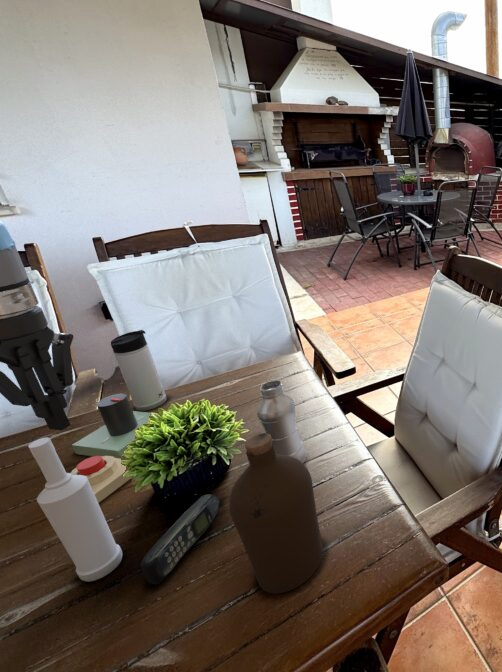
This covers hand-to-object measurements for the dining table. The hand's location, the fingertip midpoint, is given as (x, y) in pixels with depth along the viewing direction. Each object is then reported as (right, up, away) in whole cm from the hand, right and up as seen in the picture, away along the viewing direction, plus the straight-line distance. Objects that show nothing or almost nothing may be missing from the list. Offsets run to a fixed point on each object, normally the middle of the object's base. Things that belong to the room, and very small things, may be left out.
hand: (60, 426), depth 75 cm
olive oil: (+49, -19, -10) cm, 53 cm away
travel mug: (-9, -4, +30) cm, 31 cm away
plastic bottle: (+38, -12, +10) cm, 41 cm away
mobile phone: (+30, -18, -6) cm, 35 cm away
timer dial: (-4, -6, +17) cm, 18 cm away
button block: (+2, -13, +5) cm, 14 cm away
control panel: (-4, -9, +17) cm, 20 cm away
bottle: (+19, -19, -10) cm, 29 cm away
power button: (+2, -10, +4) cm, 11 cm away
